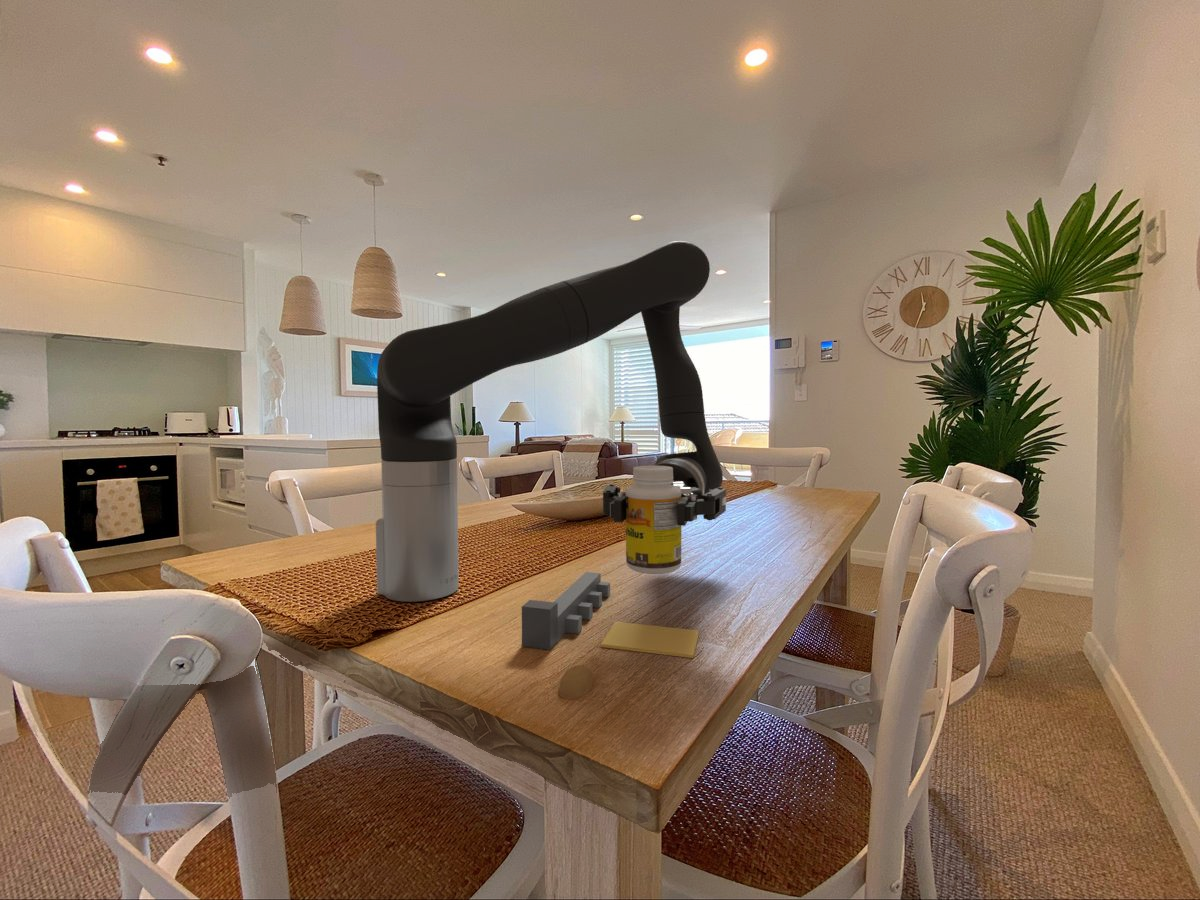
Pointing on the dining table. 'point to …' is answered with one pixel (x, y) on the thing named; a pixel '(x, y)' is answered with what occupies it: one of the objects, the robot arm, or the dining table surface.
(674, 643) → the yellow sticky note
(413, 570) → the robot arm
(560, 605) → the cable comb
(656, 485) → the supplement bottle
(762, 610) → the dining table surface
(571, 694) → the potato
